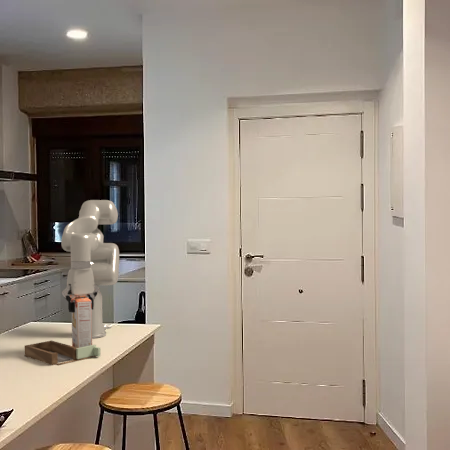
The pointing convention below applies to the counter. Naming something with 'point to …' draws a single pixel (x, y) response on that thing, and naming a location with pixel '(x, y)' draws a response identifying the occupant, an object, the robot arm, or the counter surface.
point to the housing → (52, 352)
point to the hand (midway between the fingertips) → (81, 310)
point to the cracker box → (82, 322)
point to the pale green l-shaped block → (87, 351)
